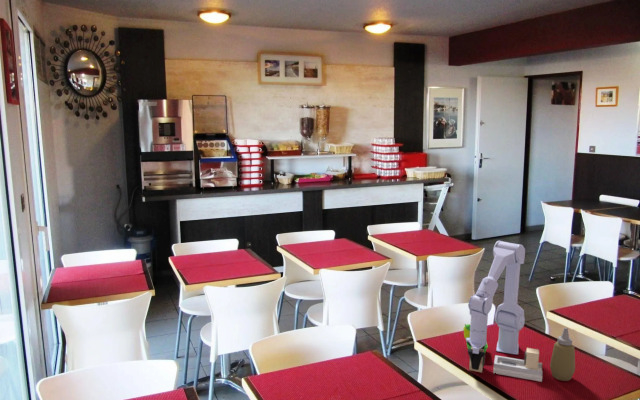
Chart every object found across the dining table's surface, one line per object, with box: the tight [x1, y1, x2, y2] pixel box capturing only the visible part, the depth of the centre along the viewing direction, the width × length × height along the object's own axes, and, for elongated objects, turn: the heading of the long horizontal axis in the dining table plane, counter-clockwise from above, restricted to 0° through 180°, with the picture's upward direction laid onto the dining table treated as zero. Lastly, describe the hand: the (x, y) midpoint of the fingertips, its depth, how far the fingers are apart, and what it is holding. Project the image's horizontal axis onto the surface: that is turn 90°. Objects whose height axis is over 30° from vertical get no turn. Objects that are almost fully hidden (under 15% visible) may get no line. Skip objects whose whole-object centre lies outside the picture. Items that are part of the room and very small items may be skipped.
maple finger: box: [468, 347, 486, 373], centre depth 190 cm, size 4×5×7 cm
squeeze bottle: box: [549, 327, 576, 382], centre depth 184 cm, size 8×8×18 cm
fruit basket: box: [462, 323, 489, 358], centre depth 204 cm, size 11×9×11 cm
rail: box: [492, 347, 543, 383], centre depth 189 cm, size 10×16×8 cm, turn 69°
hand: (476, 364), depth 191 cm, fingers open, 7 cm apart
